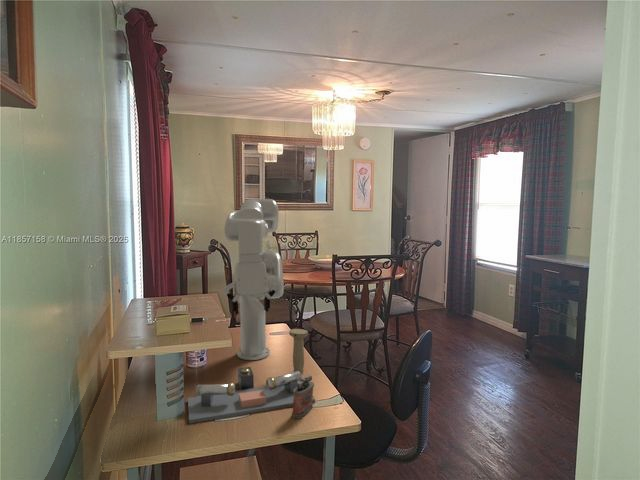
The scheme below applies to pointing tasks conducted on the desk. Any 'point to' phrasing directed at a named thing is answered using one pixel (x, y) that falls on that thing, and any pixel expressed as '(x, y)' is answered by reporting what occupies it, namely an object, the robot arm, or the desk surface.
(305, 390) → the lighter
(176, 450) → the desk surface
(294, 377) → the shaft
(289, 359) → the desk surface
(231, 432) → the desk surface
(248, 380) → the block
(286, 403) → the base plate
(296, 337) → the handle
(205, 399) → the shaft
